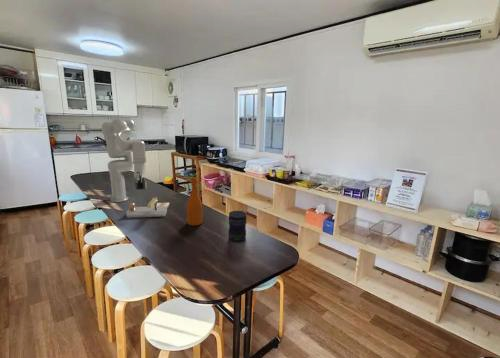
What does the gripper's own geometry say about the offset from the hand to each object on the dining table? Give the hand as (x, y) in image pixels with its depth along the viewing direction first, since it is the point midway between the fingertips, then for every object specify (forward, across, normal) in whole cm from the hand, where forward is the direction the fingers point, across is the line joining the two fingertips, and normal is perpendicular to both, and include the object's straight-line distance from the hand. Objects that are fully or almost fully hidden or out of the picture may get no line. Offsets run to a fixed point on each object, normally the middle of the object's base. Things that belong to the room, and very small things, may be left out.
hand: (141, 187), depth 165 cm
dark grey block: (+1, 0, 0) cm, 1 cm away
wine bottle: (+19, +18, +35) cm, 44 cm away
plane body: (+19, 0, +3) cm, 19 cm away
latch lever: (+10, +7, +8) cm, 14 cm away
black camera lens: (+19, +42, +59) cm, 75 cm away
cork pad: (+19, -16, +9) cm, 26 cm away
